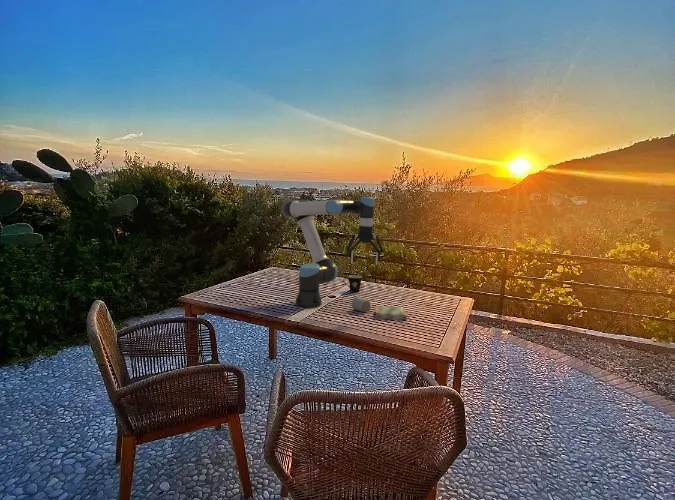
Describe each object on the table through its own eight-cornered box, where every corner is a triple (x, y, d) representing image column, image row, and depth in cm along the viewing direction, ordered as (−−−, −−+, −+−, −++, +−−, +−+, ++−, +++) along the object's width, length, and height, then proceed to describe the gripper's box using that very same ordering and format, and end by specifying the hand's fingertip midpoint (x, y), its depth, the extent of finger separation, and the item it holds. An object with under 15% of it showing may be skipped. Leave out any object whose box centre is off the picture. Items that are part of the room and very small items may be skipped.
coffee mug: (363, 291, 253) (364, 276, 251) (357, 293, 245) (357, 278, 244) (348, 288, 259) (349, 273, 257) (342, 290, 252) (342, 276, 250)
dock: (375, 318, 199) (376, 312, 198) (375, 311, 210) (376, 305, 210) (406, 320, 197) (406, 314, 197) (404, 313, 209) (404, 307, 209)
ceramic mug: (362, 314, 205) (363, 300, 204) (351, 310, 210) (351, 297, 209) (374, 310, 213) (375, 297, 211) (362, 307, 218) (363, 294, 217)
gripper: (342, 225, 201) (341, 264, 204) (389, 227, 199) (387, 266, 203) (343, 224, 209) (342, 261, 212) (388, 226, 207) (386, 263, 210)
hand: (364, 264), depth 207 cm, fingers open, 13 cm apart
